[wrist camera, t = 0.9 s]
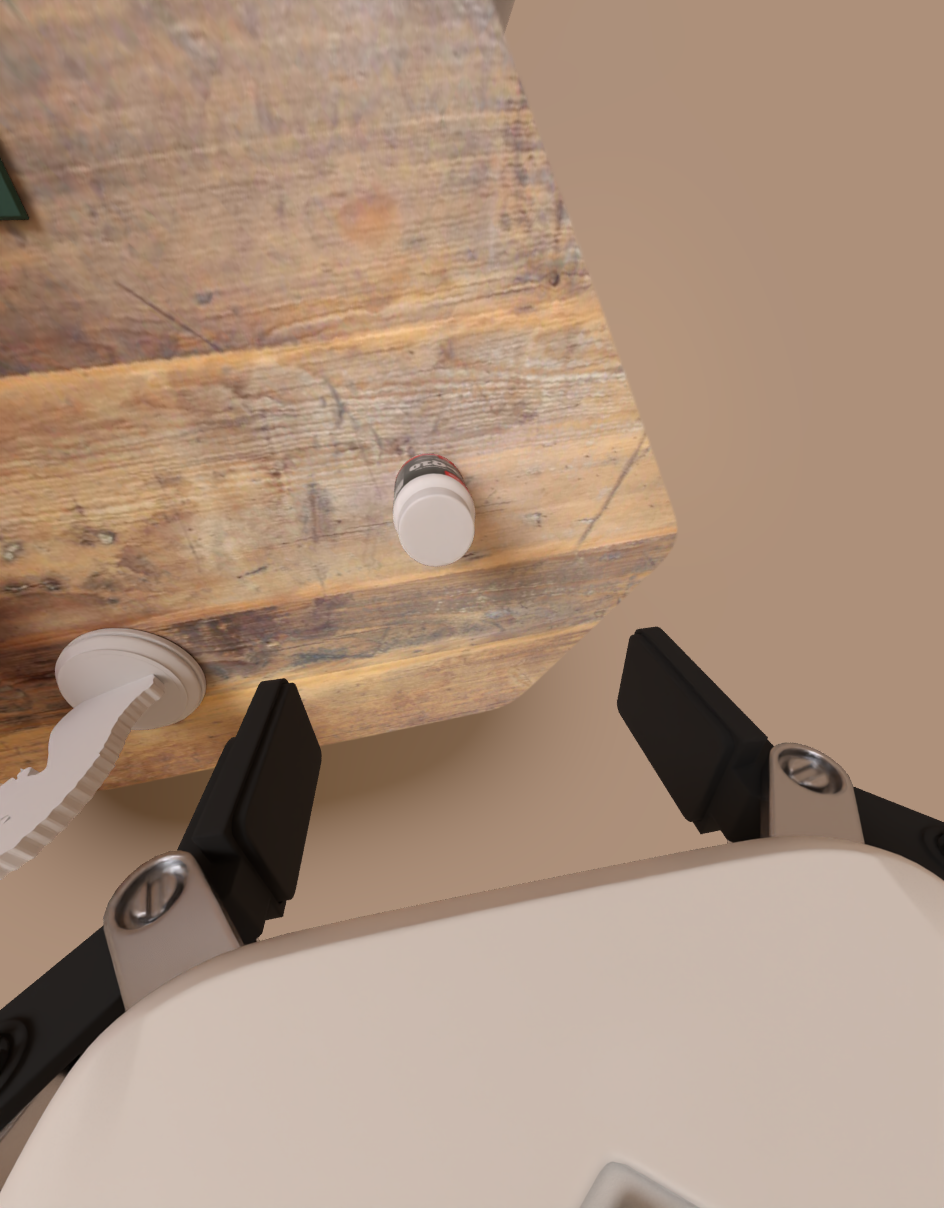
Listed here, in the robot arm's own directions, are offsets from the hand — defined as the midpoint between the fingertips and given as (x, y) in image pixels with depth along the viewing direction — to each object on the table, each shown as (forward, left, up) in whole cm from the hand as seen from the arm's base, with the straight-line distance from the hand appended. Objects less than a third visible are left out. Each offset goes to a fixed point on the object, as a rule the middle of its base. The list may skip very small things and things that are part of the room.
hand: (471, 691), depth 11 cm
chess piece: (+13, -25, -20) cm, 34 cm away
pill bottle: (0, 0, -20) cm, 20 cm away
